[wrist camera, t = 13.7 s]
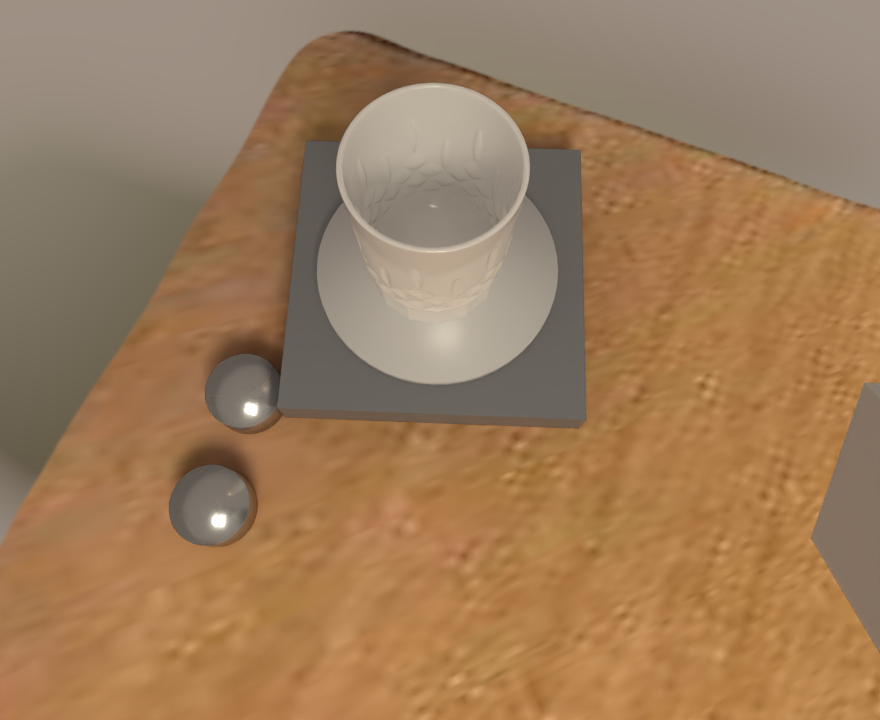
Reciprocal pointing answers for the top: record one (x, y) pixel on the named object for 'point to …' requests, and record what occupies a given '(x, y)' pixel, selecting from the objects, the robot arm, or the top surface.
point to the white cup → (433, 195)
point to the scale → (447, 344)
